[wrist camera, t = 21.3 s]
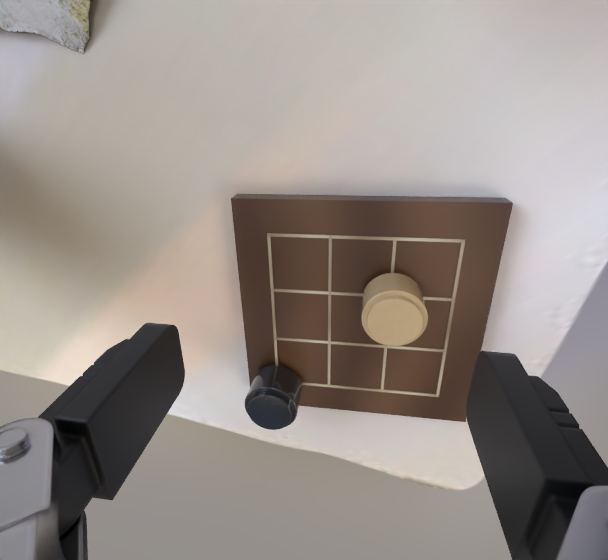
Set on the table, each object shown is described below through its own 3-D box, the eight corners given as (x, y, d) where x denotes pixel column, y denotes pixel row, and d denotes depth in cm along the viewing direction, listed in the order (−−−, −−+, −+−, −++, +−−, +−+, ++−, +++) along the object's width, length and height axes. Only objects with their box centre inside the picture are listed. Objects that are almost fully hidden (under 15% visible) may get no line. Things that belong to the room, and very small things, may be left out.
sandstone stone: (361, 319, 31) (359, 348, 28) (363, 268, 29) (362, 292, 26) (418, 323, 31) (424, 352, 27) (425, 271, 29) (432, 295, 25)
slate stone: (257, 398, 37) (245, 430, 33) (253, 359, 35) (240, 389, 31) (304, 402, 36) (296, 435, 33) (302, 363, 34) (295, 394, 31)
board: (255, 390, 39) (251, 401, 37) (236, 193, 30) (230, 198, 29) (461, 410, 36) (465, 423, 34) (506, 197, 27) (513, 203, 26)
